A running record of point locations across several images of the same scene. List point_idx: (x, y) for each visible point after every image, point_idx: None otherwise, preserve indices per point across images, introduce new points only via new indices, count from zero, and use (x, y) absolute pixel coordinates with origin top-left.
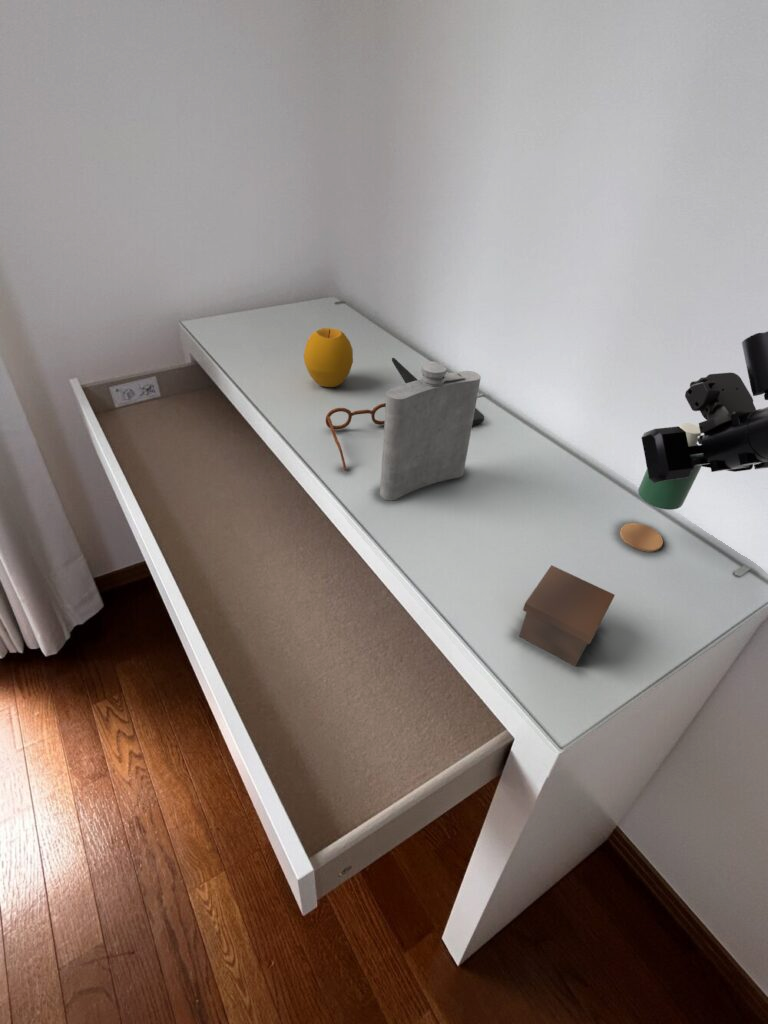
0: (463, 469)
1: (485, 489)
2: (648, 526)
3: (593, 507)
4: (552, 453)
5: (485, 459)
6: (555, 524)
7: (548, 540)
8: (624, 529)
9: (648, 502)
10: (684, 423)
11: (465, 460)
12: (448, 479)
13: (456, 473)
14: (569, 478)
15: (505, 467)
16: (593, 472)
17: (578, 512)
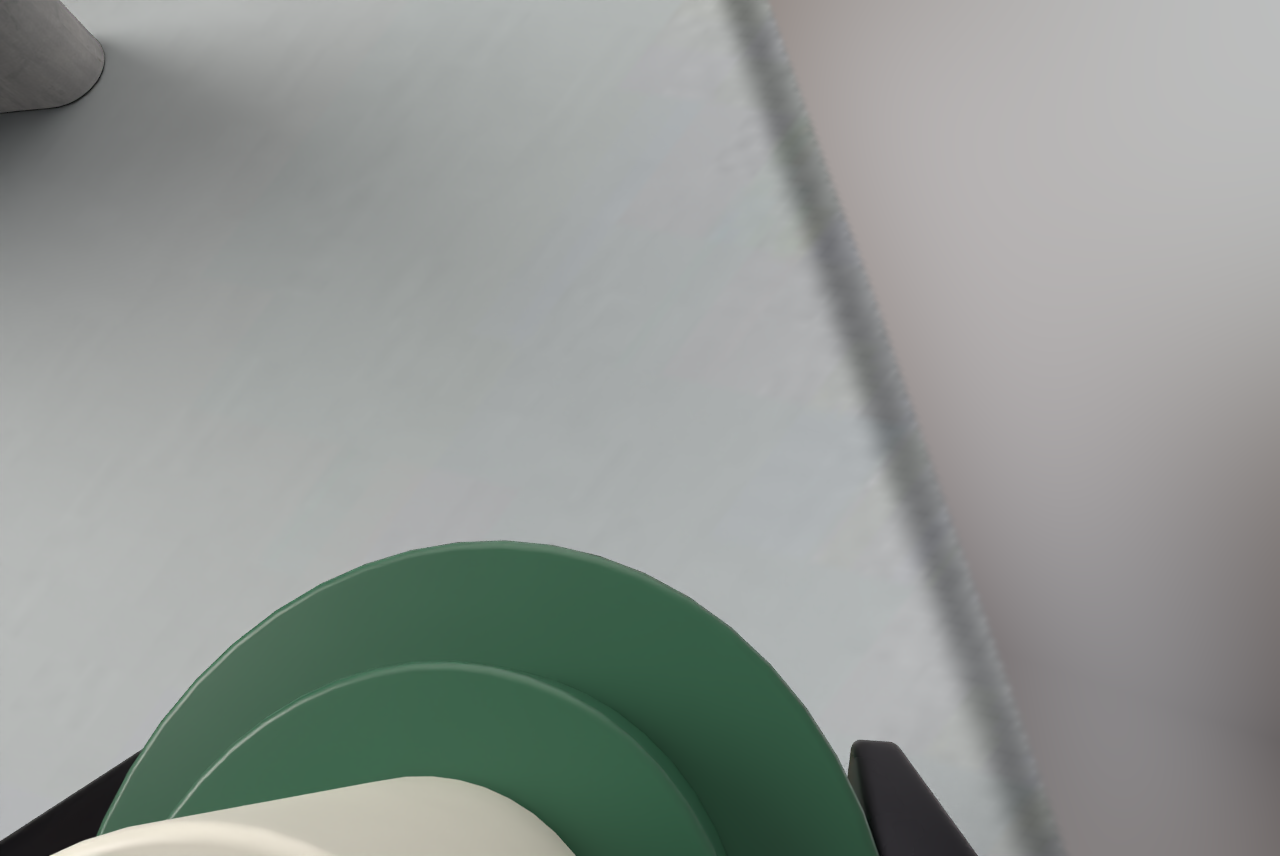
0: (48, 71)
1: (114, 207)
2: None
3: (557, 456)
4: (635, 5)
5: (267, 3)
6: (256, 534)
7: (132, 643)
8: None
9: None
10: (171, 848)
11: (13, 28)
12: (1, 112)
13: (15, 89)
14: (589, 205)
15: (320, 72)
16: (761, 183)
17: (444, 475)
